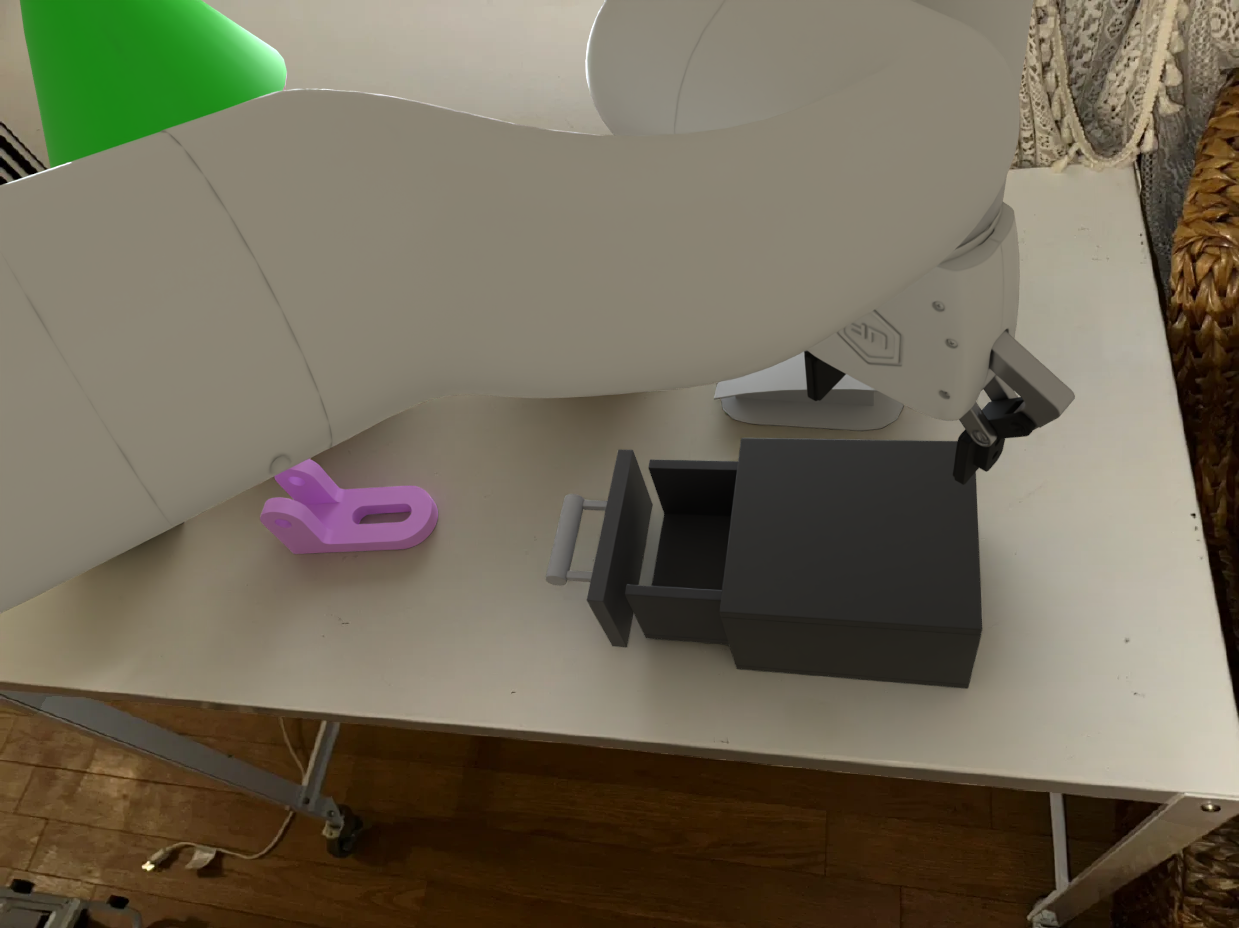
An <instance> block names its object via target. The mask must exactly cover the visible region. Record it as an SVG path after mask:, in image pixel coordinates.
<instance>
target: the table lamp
mask: <svg viewBox="0 0 1239 928" xmlns="http://www.w3.org/2000/svg"><path fill="white" fill-rule="evenodd" d="M19 5H20V13H21V19H22V27H23V28H22V29H23V34H24V40H25V44H26V48H27V53H28V54H27V55H28V58H29V63H30V68H31V70H30V71H31V74H32V81H33V85H34V89H35V95H36V100H37V106H38V110H39V116H40V122H41V125H42V131H43V136H44V142H45V146H46V147H45V148H46V151H47V156H48V162H49V169H51V168H54V167H57V166H60V165H63V164H66V163H69V162H72V161H75V160H78V159H81V158H84V157H87V156H89V155H92V154H95V153H98V152H101V151H104V150H107V149H110V148H113V147H116V146H119V145H122V144H125V143H128V142H131V141H134V140H137V139H140V138H143V137H146V136H149V135H152V134H155V133H158V132H160V131H162V130H165V129H168V128H171V127H174V126H177V125H180V124H183V123H186V122H189V121H192V120H195V119H198V118H201V117H204V116H207V115H210V114H213V113H216V112H219V111H221V110H224V109H227V108H230V107H233V106H235V105H238V104H241V103H244V102H246V101H249V100H252V99H255V98H258V97H261V96H264V95H267V94H270V93H273V92H278V91H284V90H287V80H288V70H287V66H286V63H285V62H286V61H285V59H284V57H283V56H282V55H281V53H280V52H279V51H278V50H277V49H275V47H273V46H271V45H270V44H268V43H267V42H265V41H264V40H263V39H260V38H259V37H258V36H256V35H255V34H253V33H251V32H250V31H249V30H247V29H246V28H244V27H242V26H241V25H239V24H238V23H237V22H235V21H234V20H232V19H231V18H229V17H227V16H226V15H225V14H223V13H221V12H220V11H219V10H217V9H215V8H214V7H212V6H211V5H209V4H208V3H207V2H205V1H204V0H19Z"/></svg>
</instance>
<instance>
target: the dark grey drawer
mask: <svg viewBox="0 0 1239 928" xmlns="http://www.w3.org/2000/svg"><path fill="white" fill-rule="evenodd" d="M737 466H738V460H696V459H695V460H691V459H656V458H655V459H651V458H650V459H649V462H648V467H647V468H648V471H649V474H650V478H651V480H652V483H653V486H654V489H655V492H656V495H657V497H658V500H659V503H660V506H661V509H662V513H663V518H662V522H661V523H662V524H661V528H660V534H659V540H658V546H657V552H656V559H655V564H654V569H653V576H652V582H651V585H644V584H643V585H641V584H640V578H641V573H642V569H643V562H644V556H645V552H646V545H647V540H648V536H649V535H648V533H649V529H650V524H651V523H650V522H651V517H652V512H653V505H654V504H653V501H652V499H651V496H650V495H651V494H650V493H649V490H648V487H647V484H646V481H645V478H644V475H643V473H642V469H641V467H640V465H639V462H638V459H637V455H636V454H635V451H634V449H617V453H616V458H615V463H614V466H613V467H614V468H613V472H612V477H611V482H610V487H609V491H608V497H607V500H598V499H597V500H594V499H585V498H584V497H583V496H582V495H579V494H577V493H568V494H566V495H565V496H564V498H563V503H562V507H561V511H560V515H559V519H558V522H557V528H556V532H555V536H554V540H553V544H552V548H551V551H550V552H551V553H550V556H549V561H548V565H547V570H546V574H545V582H547V583H548V584H549V585H553V586H555V587H556V586H557V587H558V586H559V587H562V586H565V585H567V583H568V582H576V583H577V582H578V583H589V587H588V591H587V596H586V602H587V604H588V605H589V607H590V609H591V611H592V613H593V615H594V616H595V619H596V620H597V621H598V624H599V625H600V627H601V629H602V631H603V633H604V634H605V636H606V638H607V640H608V642H609V644H610V645H611V647H613V648H615V647H616V648H628V646H629V640H630V635H631V629H632V623H633V618H634V617H635V619H636V621H637V624H638V625H639V627H640V629H641V632H642V633H643V636H644V638H645V639H647V640H658V641H660V640H661V641H673V642H684V643H699V644H712V645H723V646H729V642H728V639H727V636H726V632H725V629H724V626H723V622H722V619H721V615H720V603H721V595H722V587H723V579H724V571H725V563H726V555H727V547H728V539H729V531H730V523H731V515H732V507H733V498H734V490H735V482H736V474H737ZM584 511H594V512H595V511H596V512H597V511H598V512H604V516H603V520H602V525H601V528H600V529H601V530H600V533H599V539H598V544H597V548H596V554H595V557H594V562H593V568H592V571H588V570H587V571H586V570H585V571H584V570H571V565H572V562H573V557H574V553H575V549H576V544H577V541H578V540H577V539H578V535H579V530H580V526H581V522H582V517H583V513H584Z"/></svg>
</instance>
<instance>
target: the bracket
mask: <svg viewBox="0 0 1239 928" xmlns="http://www.w3.org/2000/svg"><path fill="white" fill-rule="evenodd" d="M273 478H274V480H275V481H276V483H277V484H278V485H279V486H280V487H281V488H282V490H284V491H285V492H286V493H287V494H288V495H289V497H290V498H288V497H282V496H281V497H280V496H279V497H278V496H277V497H271V498H268V499H267V500H266V501H265V502H264V504H263V508H262V511H261V513H260V516H259V521H260V523H261V524H262V525H263V526H264V527H265V528H266V529H267V530H268V531H269V532H270V533H272V534H273V535H274V537H276V539H278V540H279V542H280V543H282V544H283V545H284V546H285V547H286V548H287V550H289V551H290V552H291V553H292V554H293V555H302V554H303V555H304V554H324V553H345V552H346V553H348V552H349V553H350V552H369V551H370V552H372V551H373V552H374V551H392V550H393V551H394V550H395V551H397V550H407V549H411V548H414V547H416V546H417V545H420V544H421V543H423V542H424V541H425V540H426V539H427V538H429V537H430V535H431V534H432V533H433V531H434V530H435V528H436V526H437V523H438V521H439V509H438V507H437V504H436V502H435V501H434V499H433V498H432V497H431V495H430V493H428V491H427V490H425V489H424V488H423V487H420V486H417V485H411V484H410V485H393V486H379V487H375V486H374V487H359V488H341V487H339V486H338V485H337V484H336V482H335V480H333V479H332V478H331V477H330V476H329V474H328V473H327V471H325V470H324V468H323V467H322V466H321V465H320V464H319V463H318V462H316V460H315V461H314V460H313V459H311V458H309V459H307V460H305V461H303V462H302V463H300V464H298V465H296V466H294V467H292V468H290V469H288V470H286V471H284V472H282V473H280V474H278V475H276V476H274V477H273ZM397 513H398V514H399V513H410V515H409V516H408V517H407V518H406V519H405V520H403V521H396V522H395V521H393V522H377V523H375V522H374V523H361V521H362V519H363V518H364V517H366V516H368V515H377V514H397Z"/></svg>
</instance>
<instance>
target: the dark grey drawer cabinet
mask: <svg viewBox="0 0 1239 928" xmlns="http://www.w3.org/2000/svg"><path fill="white" fill-rule="evenodd" d="M956 447H957V440H921V439H920V440H919V439H918V440H915V439H914V440H913V439H911V440H909V439H906V440H905V439H853V438H852V439H851V438H850V439H848V438H847V439H846V438H788V437H787V438H786V437H785V438H783V437H782V438H781V437H780V438H778V437H777V438H776V437H741V438H740V443H739V451H738V459H737V461H738V466H737V474H736V482H735V490H734V498H733V507H732V515H731V523H730V531H729V539H728V547H727V555H726V563H725V571H724V579H723V587H722V595H721V603H720V615H721V619H722V622H723V626H724V629H725V632H726V636H727V639H728V642H729V645H728V647H729V649H730V652H731V655H732V660H733V663H734V666H735V669H737V670H741V671H742V670H743V671H753V672H754V671H755V672H766V673H776V674H777V673H779V674H788V675H789V674H791V675H802V676H813V677H826V678H836V679H838V678H839V679H848V680H849V679H850V680H860V681H861V680H862V681H872V682H885V683H897V684H906V685H919V686H932V687H943V688H944V687H945V688H954V689H966V690H967V689H969V686H970V684H971V683H970V682H971V678H972V676H973V671H974V667H975V663H976V659H977V655H978V650H979V646H980V642H981V639H982V633H983V629H984V627H983V608H982V607H983V605H982V604H983V603H982V583H981V582H982V581H981V558H980V556H981V555H980V536H979V535H980V532H979V513H978V512H979V510H978V492H977V491H978V488H977V487H978V486H977V471H976V472H975V473H974V475H973V476H972V477H971V478H970V479H969V480H968V482H967V483H966V484H964V485H963V484H961V483H959V482H957V481H956V480H955V477H954V476H953V469H954V462H955V454H956Z"/></svg>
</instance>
